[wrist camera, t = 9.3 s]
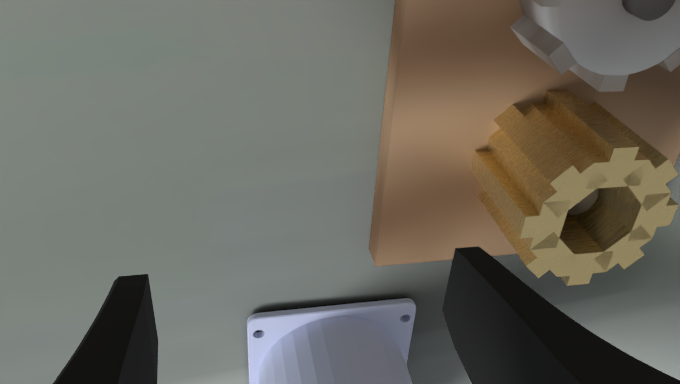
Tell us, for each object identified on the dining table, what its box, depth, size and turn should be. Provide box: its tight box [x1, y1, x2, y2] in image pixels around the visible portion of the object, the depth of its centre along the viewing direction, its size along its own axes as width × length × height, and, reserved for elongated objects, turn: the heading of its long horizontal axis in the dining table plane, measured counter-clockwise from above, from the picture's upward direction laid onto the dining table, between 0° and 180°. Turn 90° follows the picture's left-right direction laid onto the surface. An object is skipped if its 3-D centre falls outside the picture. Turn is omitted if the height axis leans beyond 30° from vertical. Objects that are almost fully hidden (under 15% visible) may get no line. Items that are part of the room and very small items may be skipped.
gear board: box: [369, 0, 680, 266], centre depth 21 cm, size 18×13×5 cm
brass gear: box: [471, 89, 679, 286], centre depth 23 cm, size 6×6×4 cm
